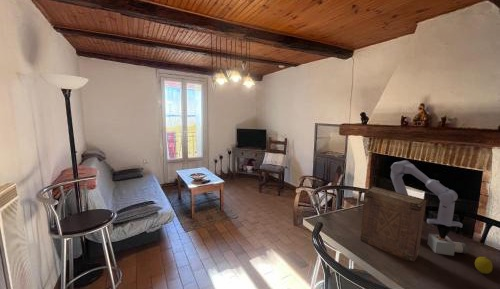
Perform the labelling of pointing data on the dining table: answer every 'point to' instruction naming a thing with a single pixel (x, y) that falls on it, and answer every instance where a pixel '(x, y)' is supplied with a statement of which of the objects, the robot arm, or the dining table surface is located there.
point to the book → (393, 222)
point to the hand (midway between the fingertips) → (441, 237)
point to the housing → (441, 245)
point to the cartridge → (461, 247)
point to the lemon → (483, 265)
